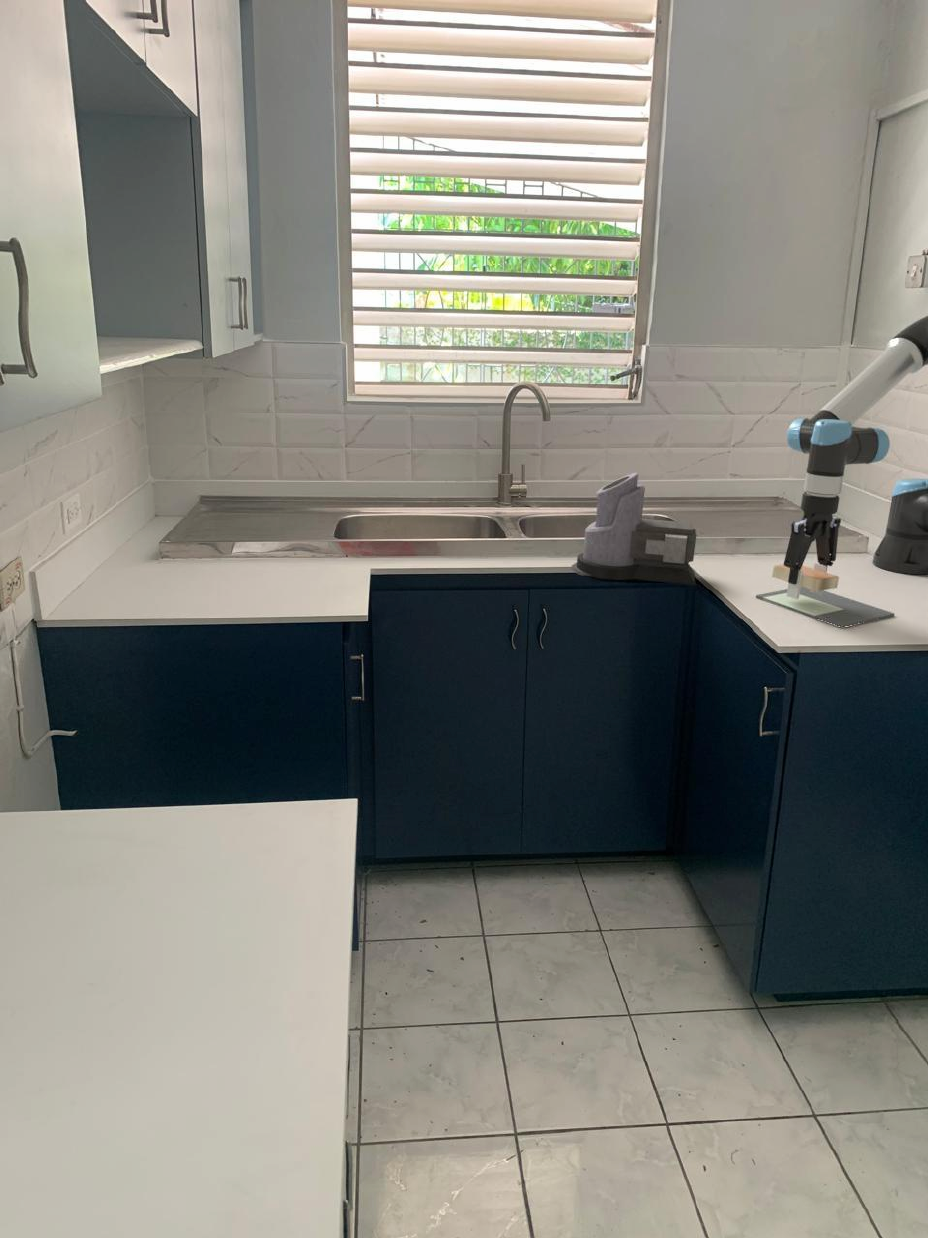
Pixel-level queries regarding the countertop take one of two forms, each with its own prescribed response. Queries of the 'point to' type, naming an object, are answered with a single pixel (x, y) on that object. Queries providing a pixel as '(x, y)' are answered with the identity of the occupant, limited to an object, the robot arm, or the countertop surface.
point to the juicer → (635, 540)
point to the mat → (826, 607)
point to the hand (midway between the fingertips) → (804, 594)
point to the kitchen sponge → (808, 577)
